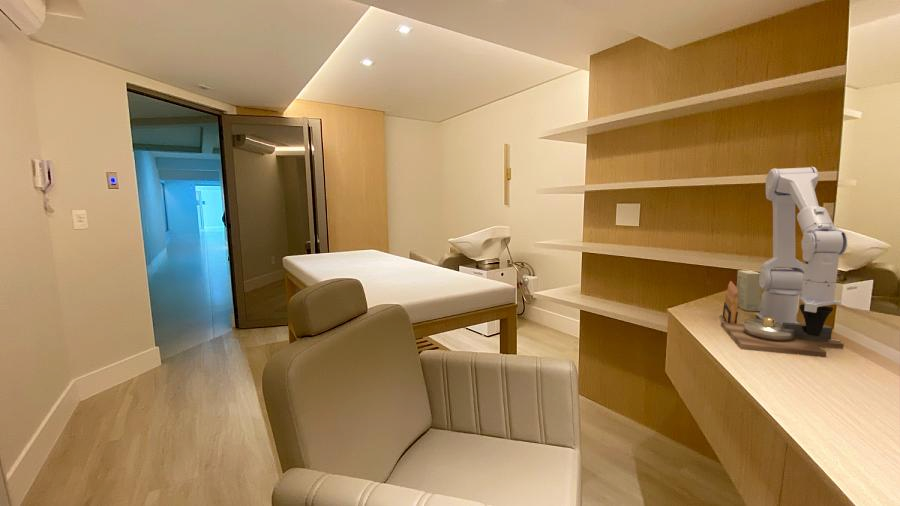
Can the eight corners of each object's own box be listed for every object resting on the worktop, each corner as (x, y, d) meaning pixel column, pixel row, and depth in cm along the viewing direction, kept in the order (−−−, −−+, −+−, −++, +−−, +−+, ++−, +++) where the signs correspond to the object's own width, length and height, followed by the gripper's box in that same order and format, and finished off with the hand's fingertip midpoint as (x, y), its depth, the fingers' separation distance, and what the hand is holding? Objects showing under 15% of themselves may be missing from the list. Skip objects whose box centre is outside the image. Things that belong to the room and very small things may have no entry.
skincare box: (760, 311, 121) (764, 273, 119) (745, 311, 122) (748, 273, 120) (749, 305, 127) (752, 269, 125) (734, 305, 128) (737, 269, 126)
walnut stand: (720, 325, 110) (721, 320, 109) (820, 333, 101) (821, 328, 101) (741, 348, 93) (741, 343, 93) (862, 360, 85) (862, 354, 85)
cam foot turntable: (750, 337, 96) (751, 322, 95) (738, 324, 105) (740, 310, 104) (839, 346, 89) (842, 329, 88) (819, 332, 98) (821, 317, 97)
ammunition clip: (735, 329, 107) (741, 288, 105) (727, 328, 108) (732, 287, 106) (729, 318, 116) (734, 280, 114) (722, 317, 117) (726, 279, 115)
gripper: (837, 287, 84) (830, 347, 85) (847, 278, 92) (841, 332, 94) (795, 283, 89) (789, 338, 91) (808, 274, 98) (803, 325, 100)
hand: (813, 335), depth 93 cm, fingers closed, pressing on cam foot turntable
